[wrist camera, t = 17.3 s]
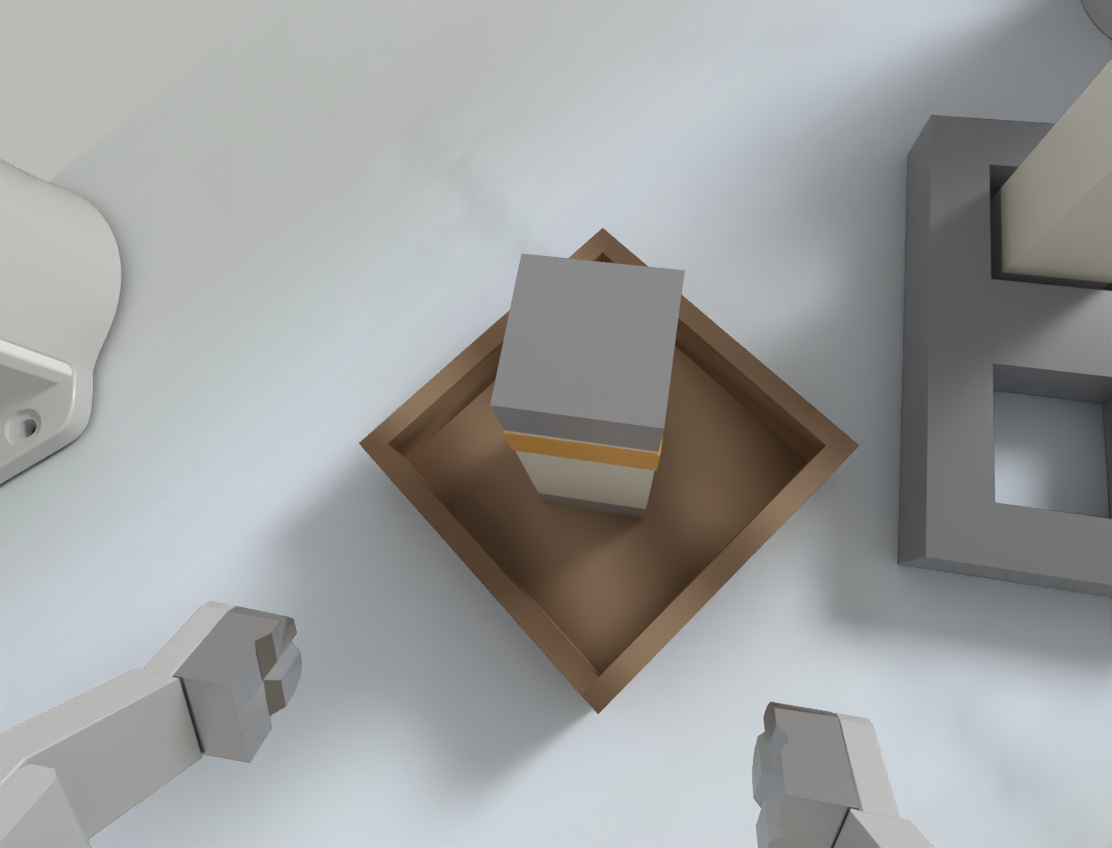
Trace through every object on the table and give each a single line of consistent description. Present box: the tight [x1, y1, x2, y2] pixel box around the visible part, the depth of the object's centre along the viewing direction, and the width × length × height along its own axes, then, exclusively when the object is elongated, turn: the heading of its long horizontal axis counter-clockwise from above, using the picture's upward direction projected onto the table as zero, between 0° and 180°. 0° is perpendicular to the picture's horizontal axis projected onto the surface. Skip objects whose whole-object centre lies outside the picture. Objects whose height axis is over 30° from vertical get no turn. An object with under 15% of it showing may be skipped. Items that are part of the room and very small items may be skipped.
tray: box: [359, 228, 859, 714], centre depth 27 cm, size 13×13×4 cm
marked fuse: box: [490, 254, 684, 518], centre depth 22 cm, size 4×4×12 cm
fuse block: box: [898, 115, 1112, 597], centre depth 27 cm, size 19×10×2 cm, turn 170°
